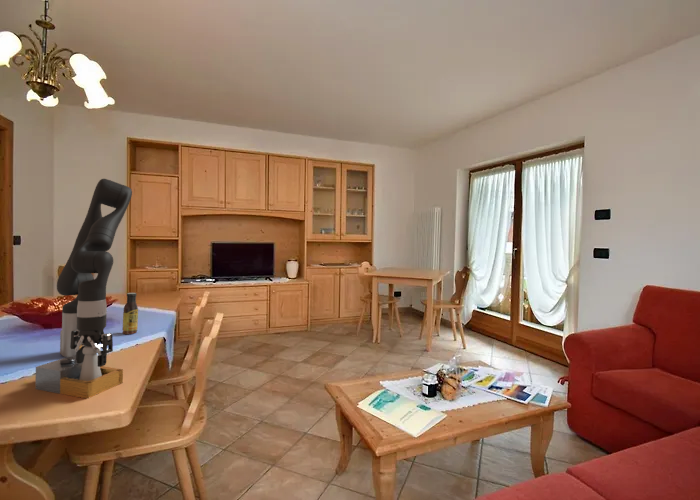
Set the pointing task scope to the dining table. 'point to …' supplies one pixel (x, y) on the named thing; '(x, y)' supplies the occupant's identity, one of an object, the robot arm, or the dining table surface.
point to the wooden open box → (74, 378)
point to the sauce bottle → (130, 315)
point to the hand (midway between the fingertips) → (91, 364)
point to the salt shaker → (90, 365)
